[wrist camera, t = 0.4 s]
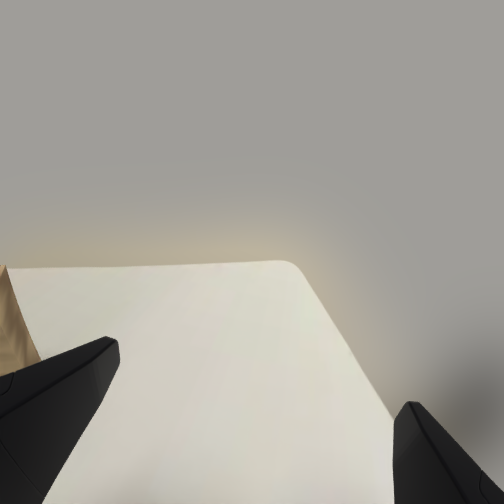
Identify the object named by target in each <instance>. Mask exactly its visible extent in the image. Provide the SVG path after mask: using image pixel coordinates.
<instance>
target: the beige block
mask: <svg viewBox="0 0 504 504" xmlns="http://www.w3.org/2000/svg"><path fill="white" fill-rule="evenodd" d="M40 361H41V359H40V357H39V354H38V352H37V350H36V348H35V345H34V343H33V341H32V339H31V336H30V334H29V331H28V329H27V326H26V324H25V321H24V319H23V316H22V314H21V311H20V308H19V305H18V303H17V300H16V297H15V294H14V291H13V288H12V285H11V282H10V279H9V275H8V272H7V269H6V265H0V376H3V375H6V374H8V373H11V372H15V371H17V370H19V369H22V368H25V367H27V366H30V365H32V364H35V363H38V362H40Z"/></svg>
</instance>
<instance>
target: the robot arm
mask: <svg viewBox="0 0 504 504" xmlns="http://www.w3.org/2000/svg"><path fill="white" fill-rule="evenodd" d="M119 364H120V354H119V344H118V341H117V340H116V339H113V338H110V337H107V336H105V337H102V338H99V339H97V340H94V341H92V342H89V343H87V344H84V345H82V346H79V347H76V348H74V349H71V350H69V351H66V352H64V353H61V354H59V355H56V356H53V357H51V358H48V359H46V360H43V361H40V362H38V363H35V364H32V365H30V366H27V367H25V368H22V369H19V370H17V371H15V372H11V373H8V374H6V375H3V376H0V504H42V503H43V501H44V499H45V498H44V497H46V495H47V493H48V492H49V490H50V488H51V486H52V484H53V483H54V481H55V479H56V477H57V476H58V474H59V472H60V471H61V469H62V467H63V465H64V464H65V462H66V460H67V459H68V457H69V455H70V454H71V452H72V450H73V449H74V447H75V445H76V444H77V442H78V440H79V439H80V437H81V435H82V434H83V432H84V430H85V429H86V427H87V425H88V424H89V422H90V421H91V419H92V417H93V416H94V414H95V413H96V411H97V409H98V408H99V406H100V404H101V402H102V400H103V398H104V396H105V394H106V392H107V390H108V388H109V386H110V384H111V382H112V380H113V377H114V375H115V373H116V371H117V369H118V367H119ZM393 480H394V504H504V492H503V491H502V490H501V489H500V488H499V487H498V486H497V485H496V484H495V483H494V482H493V481H492V480H491V479H490V478H489V477H488V476H487V475H486V473H485V472H484V471H483V470H481V468H480V467H479V466H478V465H477V464H476V463H475V462H474V461H473V459H472V458H471V457H470V456H469V455H468V454H467V453H466V452H465V451H464V450H463V449H462V447H461V446H460V445H459V444H458V443H457V442H456V441H455V440H454V439H453V438H452V437H451V436H450V435H449V433H447V431H446V430H445V429H444V428H443V427H442V426H441V425H440V424H439V423H438V422H437V421H436V419H435V418H434V417H433V416H432V415H431V414H430V413H429V412H428V411H427V410H426V409H425V408H424V407H423V406H422V405H421V404H420V403H419V402H413V401H408V402H406V403H405V404H404V406H403V408H402V409H401V410H400V412H399V414H398V415H397V416H396V418H395V421H394V436H393Z"/></svg>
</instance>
